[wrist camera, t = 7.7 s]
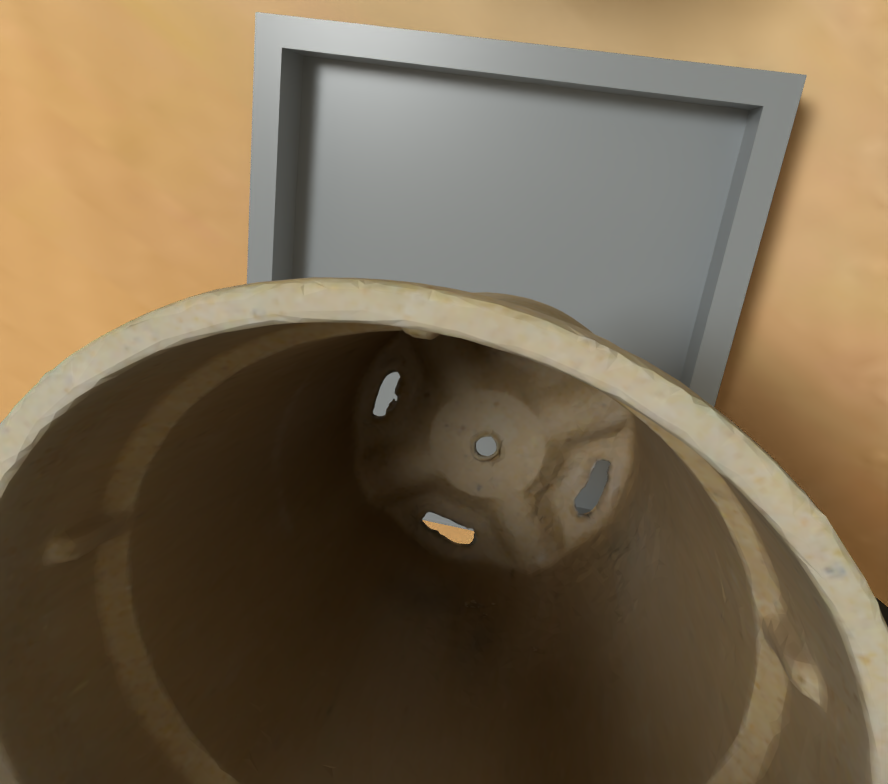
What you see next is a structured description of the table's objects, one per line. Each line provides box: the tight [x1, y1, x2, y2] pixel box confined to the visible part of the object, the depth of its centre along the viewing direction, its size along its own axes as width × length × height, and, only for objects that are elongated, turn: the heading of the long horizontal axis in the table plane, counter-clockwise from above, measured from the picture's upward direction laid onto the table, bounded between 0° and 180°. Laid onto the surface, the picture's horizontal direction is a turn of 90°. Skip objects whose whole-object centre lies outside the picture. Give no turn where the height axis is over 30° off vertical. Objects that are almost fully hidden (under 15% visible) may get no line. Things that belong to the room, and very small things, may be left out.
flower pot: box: [0, 277, 888, 784], centre depth 11 cm, size 9×9×9 cm
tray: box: [247, 12, 807, 531], centre depth 27 cm, size 18×18×3 cm
